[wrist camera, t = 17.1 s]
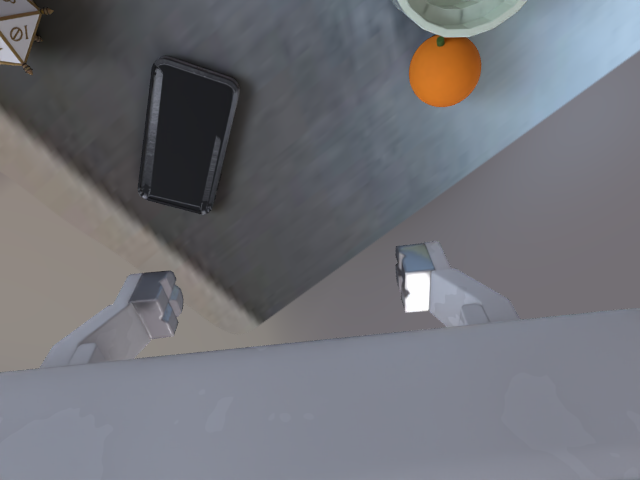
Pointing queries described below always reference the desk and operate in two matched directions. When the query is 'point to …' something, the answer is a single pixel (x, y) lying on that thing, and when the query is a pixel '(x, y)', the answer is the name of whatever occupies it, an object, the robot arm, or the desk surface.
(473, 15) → the bowl
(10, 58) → the game die
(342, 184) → the desk surface
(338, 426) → the robot arm
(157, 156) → the phone
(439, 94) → the orange
